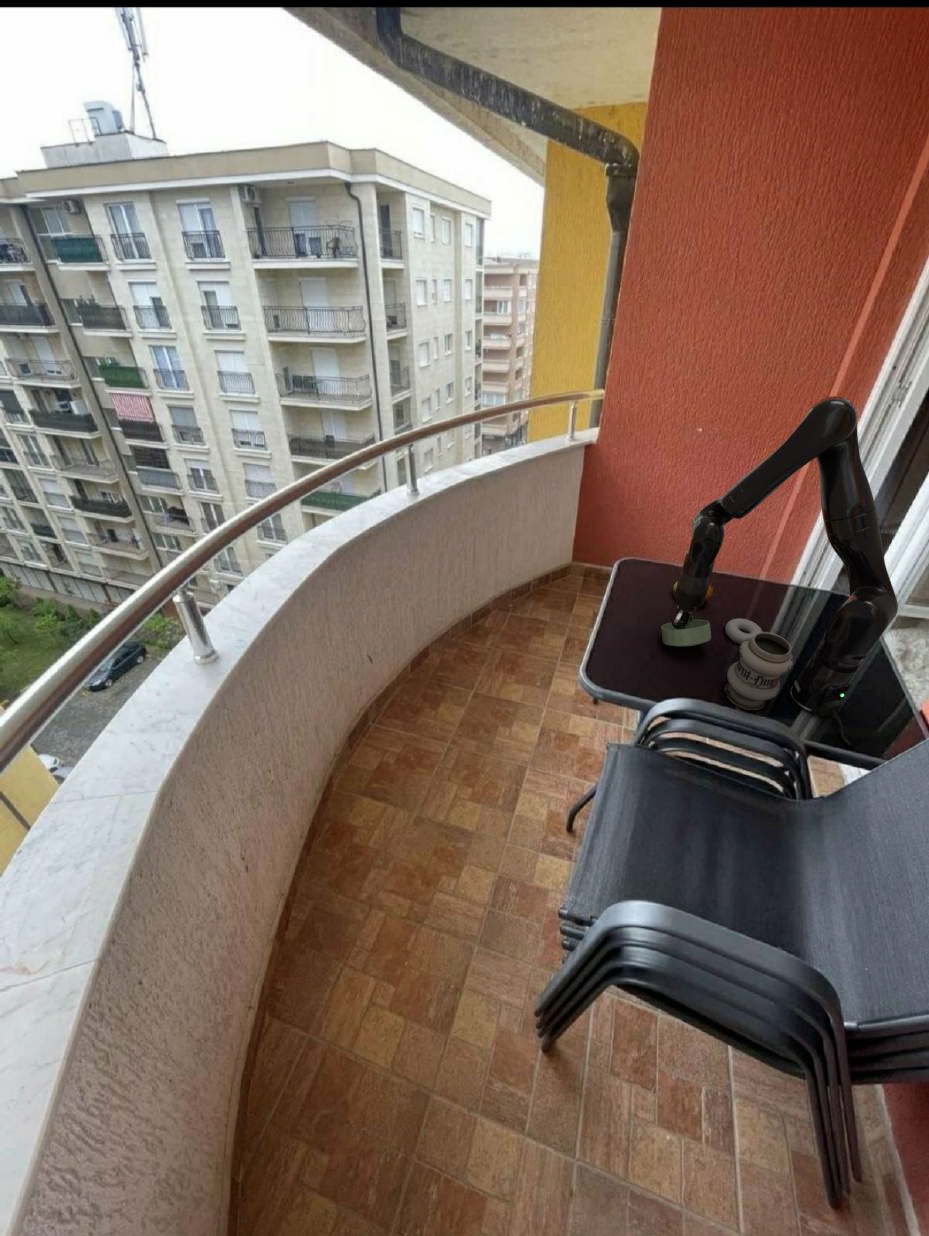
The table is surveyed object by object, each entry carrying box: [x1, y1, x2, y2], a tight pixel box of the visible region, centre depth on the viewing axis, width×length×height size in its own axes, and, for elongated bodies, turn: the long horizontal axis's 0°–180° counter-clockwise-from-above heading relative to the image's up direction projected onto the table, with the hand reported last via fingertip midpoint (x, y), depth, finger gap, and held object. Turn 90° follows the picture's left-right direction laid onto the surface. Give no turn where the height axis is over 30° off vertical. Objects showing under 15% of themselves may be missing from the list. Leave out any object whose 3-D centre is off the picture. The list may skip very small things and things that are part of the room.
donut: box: [724, 617, 764, 645], centre depth 155 cm, size 10×4×10 cm
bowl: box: [660, 618, 712, 647], centre depth 149 cm, size 12×12×5 cm
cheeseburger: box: [672, 581, 714, 601], centre depth 166 cm, size 10×11×10 cm
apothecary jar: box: [723, 631, 795, 711], centre depth 133 cm, size 12×12×18 cm
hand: (679, 636), depth 152 cm, fingers closed
